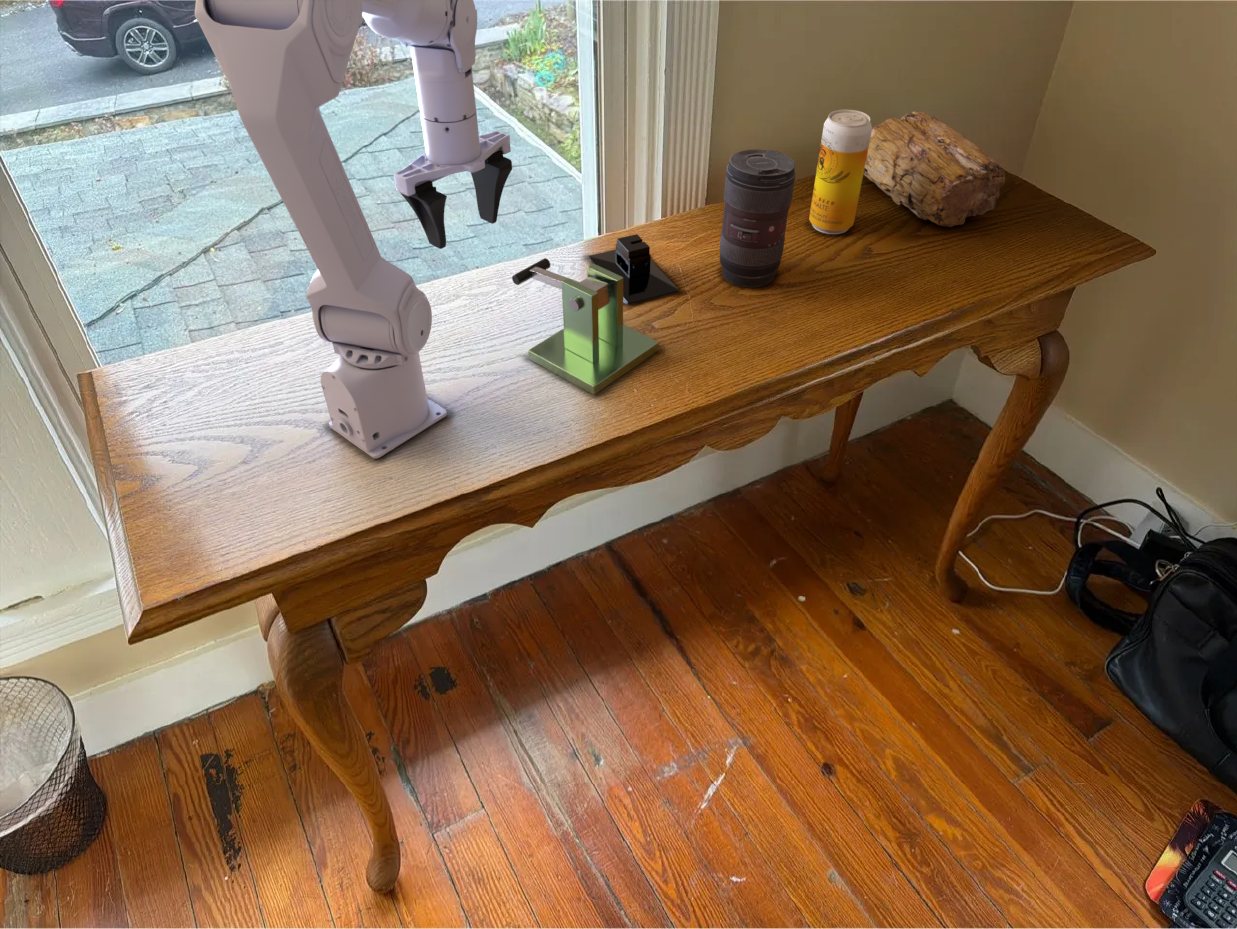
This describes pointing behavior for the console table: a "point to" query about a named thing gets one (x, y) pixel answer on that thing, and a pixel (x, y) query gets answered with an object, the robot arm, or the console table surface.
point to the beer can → (840, 170)
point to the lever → (553, 279)
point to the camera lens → (755, 215)
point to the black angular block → (635, 270)
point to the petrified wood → (932, 169)
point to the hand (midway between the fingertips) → (463, 232)
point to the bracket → (593, 336)
